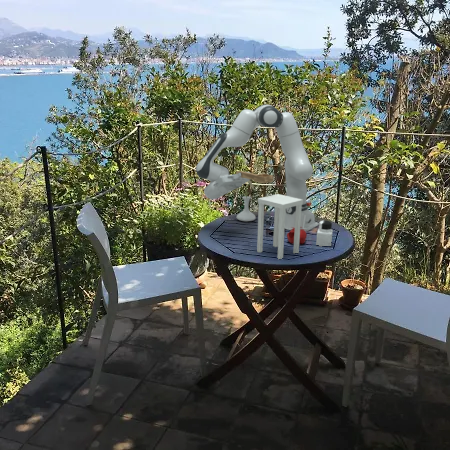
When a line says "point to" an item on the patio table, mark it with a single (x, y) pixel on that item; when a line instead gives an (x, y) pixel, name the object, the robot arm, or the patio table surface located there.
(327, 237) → the medicine bottle
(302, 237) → the pomegranate
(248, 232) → the patio table surface
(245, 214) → the flower in vase
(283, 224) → the tall stand
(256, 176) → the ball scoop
